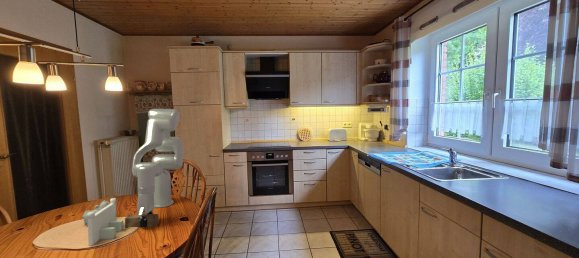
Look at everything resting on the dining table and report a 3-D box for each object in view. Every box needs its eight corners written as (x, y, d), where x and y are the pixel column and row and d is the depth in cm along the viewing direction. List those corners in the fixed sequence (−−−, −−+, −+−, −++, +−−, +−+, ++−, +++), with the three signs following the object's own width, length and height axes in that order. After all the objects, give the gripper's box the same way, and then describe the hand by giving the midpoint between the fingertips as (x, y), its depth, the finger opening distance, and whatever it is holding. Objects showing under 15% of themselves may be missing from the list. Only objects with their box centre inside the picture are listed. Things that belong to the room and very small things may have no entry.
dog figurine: (114, 219, 134) (114, 199, 134) (85, 228, 124) (85, 206, 123) (110, 217, 137) (110, 197, 137) (81, 225, 126) (80, 204, 126)
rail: (125, 228, 124) (124, 218, 124) (128, 224, 128) (128, 215, 128) (155, 226, 127) (155, 216, 126) (158, 223, 131) (158, 213, 130)
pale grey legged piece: (112, 225, 127) (111, 198, 126) (128, 224, 128) (127, 197, 128) (87, 246, 107) (86, 213, 106) (106, 244, 108) (105, 213, 108)
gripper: (145, 185, 135) (145, 217, 136) (130, 195, 118) (130, 232, 119) (160, 184, 136) (160, 217, 137) (147, 194, 119) (148, 231, 120)
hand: (146, 223), depth 128 cm, fingers open, 6 cm apart
